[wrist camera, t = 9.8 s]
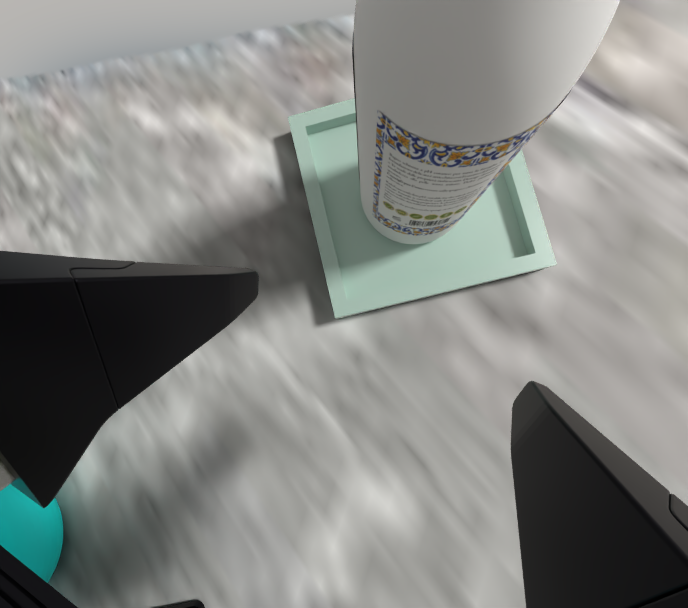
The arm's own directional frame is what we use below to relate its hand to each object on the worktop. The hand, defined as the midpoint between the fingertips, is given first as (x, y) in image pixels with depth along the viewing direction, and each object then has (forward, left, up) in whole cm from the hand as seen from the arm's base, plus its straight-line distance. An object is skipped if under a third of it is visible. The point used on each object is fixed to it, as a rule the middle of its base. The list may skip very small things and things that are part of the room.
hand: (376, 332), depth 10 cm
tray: (+5, +8, -11) cm, 15 cm away
